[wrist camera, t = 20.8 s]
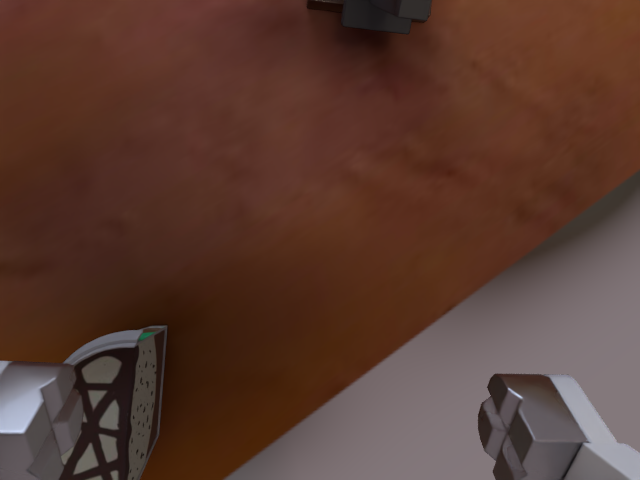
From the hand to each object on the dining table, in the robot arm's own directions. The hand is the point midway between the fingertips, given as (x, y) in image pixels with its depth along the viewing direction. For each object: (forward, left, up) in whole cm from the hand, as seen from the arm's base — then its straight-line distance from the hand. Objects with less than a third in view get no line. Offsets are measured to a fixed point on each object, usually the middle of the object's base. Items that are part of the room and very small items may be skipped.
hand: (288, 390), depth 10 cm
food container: (+4, -15, -31) cm, 35 cm away
